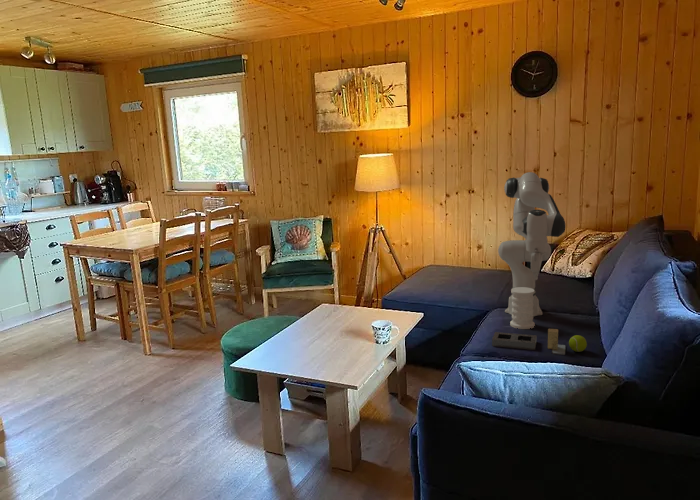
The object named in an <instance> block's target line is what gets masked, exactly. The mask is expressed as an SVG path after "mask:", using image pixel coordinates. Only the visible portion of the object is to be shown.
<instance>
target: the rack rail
mask: <svg viewBox="0 0 700 500" xmlns="http://www.w3.org/2000/svg"><path fill="white" fill-rule="evenodd" d="M536 345H537V335H536V334H535V335H534V334H522V333H513V332H512V333H511V332H501V331H495V332H494V334H493V336H492V338H491V346H492V347H498V348H499V347H501V348H511V349H519V350H530V351H536V348H537V347H536Z"/></svg>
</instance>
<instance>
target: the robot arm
mask: <svg viewBox="0 0 700 500" xmlns="http://www.w3.org/2000/svg"><path fill="white" fill-rule="evenodd" d="M503 188H504V189H503V190H504V193H505V196H506V197H508V198H511V199H514V198H515V201H514V204H513V212H512V213H513V215H512V218H513V219H512V220H513V221H512V228H513V231H514V232H515V233H516V234H517V235H519V236H521V237H523V238H524V240H523V239H522V240H521V239H520V240H519V239H518V240H517V239H516V240H514V239H513V240H512V239H511V240H505V241H501V243H500V244H499V246H498V250H497V251H498V256H499V258H500V260H502V261H503V262H505V263H506V264H507V265H508V267H509V268H510V270H511V274H512V286H511V289H512V288H516V287H527V288H532V289H534V290H535V293H534V294H533V297H534V299H533V304H534V305H533V317H536V316H542V315H544V314H543V311H542V309H541V307H540V305H539V303H540V302H539V301H540V300H539V298H538V297H537V296H536V295H537V288H536V281H538V278H539V277H538V276H539V274H540V270H541V266H542V262H544V261H547V260H548V259H549V258H550V257H551V256H552V255H551V254H552V248H551V245H550V244H549V243H548V237H553V238H554V237H555V238H558V237H560V236H562V235H563V234H565V232H566V226H567V225H566V221H565V219H564V216H563V215H562V214H561V212H560V210H559V208H558V205H557V204H556V202H555V199H554V198H553V196H552V195H551V194H550V193H549V191H550V184H549V181H548V179H547V178H544V177H539V176H538V174H536V173H535V172H534V171H533V172H532V171H531V172H530V171H529V172H525V173H523V174H522V175H521V176H520V177H510V178H508V179H507V180H506V181H505V183H504V187H503ZM536 208H537V209H536ZM524 262H529V263H530V268H529V267H527V266H525V265H524V264H523V263H524ZM512 296H513V294H512V293H511V295H509V297H508V307H507V308H505V310H504V313H507V314H509V315H511V316H512V307H513V306H512V302H513V300H512Z"/></svg>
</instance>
